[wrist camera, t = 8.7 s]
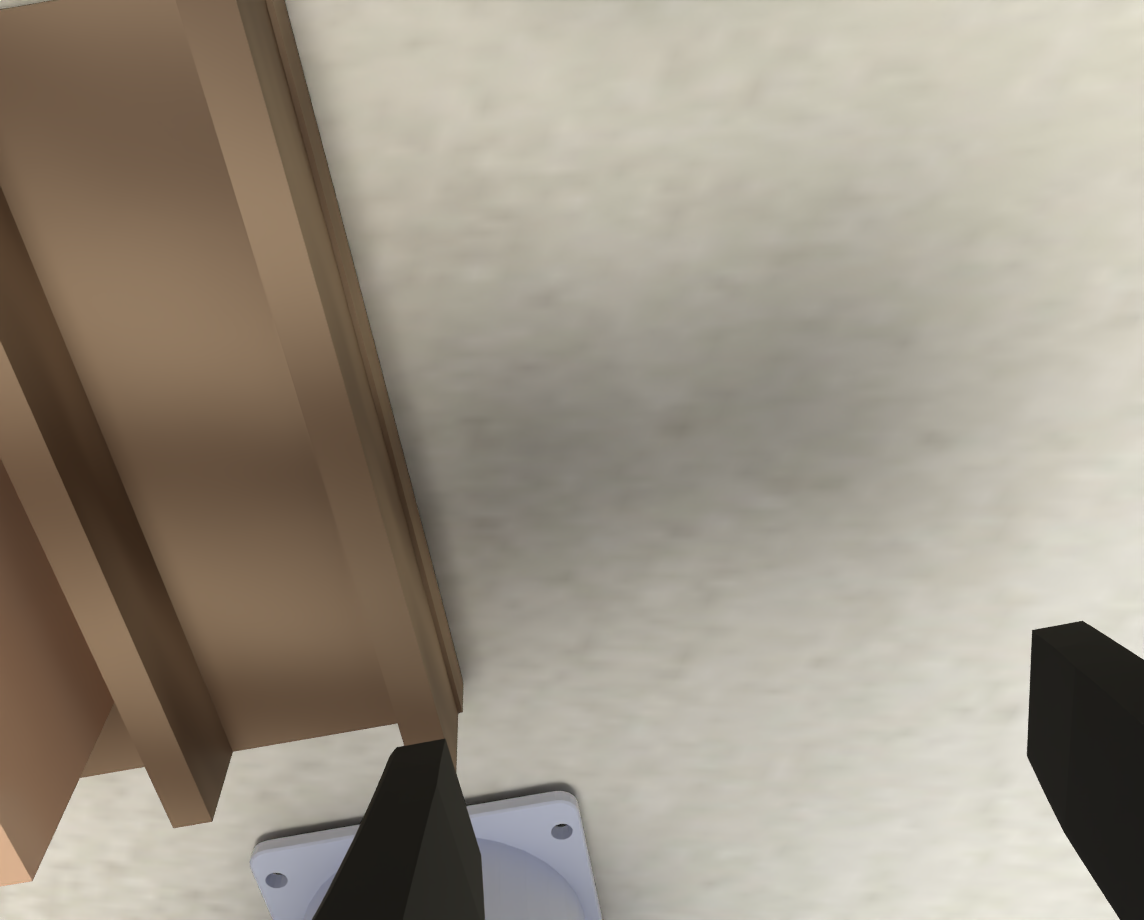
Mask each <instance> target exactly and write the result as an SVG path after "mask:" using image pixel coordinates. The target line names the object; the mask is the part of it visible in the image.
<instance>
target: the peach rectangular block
mask: <svg viewBox="0 0 1144 920" xmlns="http://www.w3.org/2000/svg"><path fill="white" fill-rule="evenodd" d="M113 704H114V700H113V698H112V696H111V694H110V691H109V689H108V687H107V685H106V683H105V681H104V679H103V676H102V674H101V672H100V670H99V668H98V666H97V664H96V661H95V659H94V657H93V655H92V653H91V651H90V649H89V646H88V644H87V642H86V640H85V638H84V636H83V634H82V632H81V629H80V627H79V625H78V623H77V621H76V619H75V617H74V614H73V612H72V610H71V608H70V606H69V604H68V602H67V599H66V597H65V595H64V593H63V591H62V589H61V587H60V584H59V582H58V580H57V578H56V576H55V574H54V572H53V569H52V567H51V565H50V563H49V561H48V559H47V557H46V554H45V552H44V550H43V548H42V546H41V544H40V542H39V540H38V537H37V535H36V533H35V531H34V529H33V527H32V525H31V522H30V520H29V518H28V516H27V514H26V512H25V510H24V507H23V505H22V503H21V501H20V499H19V497H18V495H17V492H16V490H15V488H14V486H13V484H12V482H11V480H10V477H9V475H8V473H7V471H6V469H5V467H4V465H3V462H2V460H1V458H0V886H6V885H12V884H18V883H24V882H30V881H33V879H34V877H35V874H36V872H37V870H38V868H39V866H40V864H41V861H42V859H43V857H44V855H45V853H46V850H47V848H48V846H49V844H50V842H51V839H52V837H53V835H54V833H55V831H56V829H57V826H58V824H59V822H60V820H61V818H62V815H63V813H64V811H65V809H66V807H67V805H68V802H69V800H70V798H71V796H72V794H73V791H74V789H75V787H76V785H77V783H78V781H79V778H80V776H81V774H82V772H83V770H84V767H85V765H86V763H87V761H88V759H89V756H90V754H91V752H92V750H93V748H94V746H95V743H96V741H97V739H98V737H99V735H100V732H101V730H102V728H103V726H104V724H105V722H106V719H107V717H108V715H109V713H110V711H111V708H112V706H113Z"/></svg>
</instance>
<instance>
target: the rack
mask: <svg viewBox="0 0 1144 920" xmlns="http://www.w3.org/2000/svg"><path fill="white" fill-rule="evenodd" d="M0 458H1V460H2V462H3V465H4V467H5V469H6V471H7V473H8V475H9V477H10V480H11V482H12V484H13V486H14V488H15V490H16V492H17V495H18V497H19V499H20V501H21V503H22V505H23V507H24V510H25V512H26V514H27V516H28V518H29V520H30V522H31V525H32V527H33V529H34V531H35V533H36V535H37V537H38V540H39V542H40V544H41V546H42V548H43V550H44V552H45V554H46V557H47V559H48V561H49V563H50V565H51V567H52V569H53V572H54V574H55V576H56V578H57V580H58V582H59V584H60V587H61V589H62V591H63V593H64V595H65V597H66V599H67V602H68V604H69V606H70V608H71V610H72V612H73V614H74V617H75V619H76V621H77V623H78V625H79V627H80V629H81V632H82V634H83V636H84V638H85V640H86V642H87V644H88V646H89V649H90V651H91V653H92V655H93V657H94V659H95V661H96V664H97V666H98V668H99V670H100V672H101V674H102V676H103V679H104V681H105V683H106V685H107V687H108V689H109V691H110V694H111V696H112V698H113V700H114V704H113V706H112V708H111V711H110V713H109V715H108V717H107V719H106V722H105V724H104V726H103V728H102V730H101V732H100V735H99V737H98V739H97V741H96V743H95V746H94V748H93V750H92V752H91V754H90V756H89V759H88V761H87V763H86V765H85V767H84V770H83V772H82V774H81V776H80V778H82V777H88V776H94V775H100V774H105V773H111V772H117V771H123V770H129V769H135V768H140V767H145V768H146V771H147V773H148V775H149V777H150V779H151V781H152V783H153V786H154V788H155V790H156V792H157V794H158V796H159V798H160V801H161V803H162V805H163V807H164V809H165V811H166V813H167V816H168V818H169V820H170V822H171V824H172V826H173V828H178V827H183V826H189V825H195V824H201V823H207V822H212V821H213V818H214V814H215V811H216V807H217V804H218V800H219V797H220V794H221V790H222V787H223V783H224V780H225V777H226V773H227V770H228V766H229V763H230V759H231V756H232V753H233V751H239V750H245V749H251V748H257V747H263V746H268V745H274V744H280V743H286V742H292V741H297V740H303V739H309V738H315V737H321V736H327V735H332V734H338V733H344V732H350V731H356V730H362V729H367V728H373V727H379V726H385V725H391V724H396V723H398V726H399V729H400V733H401V736H402V739H403V742H404V746H407V745H412V744H418V743H423V742H429V741H434V740H439V739H445V738H446V742H447V745H448V748H449V752H450V755H451V758H452V761H453V765H454V768H455V771H456V765H457V732H458V713H460V712H463V679H462V675H461V672H460V668H459V664H458V660H457V656H456V653H455V649H454V645H453V641H452V637H451V634H450V630H449V626H448V622H447V618H446V615H445V611H444V607H443V603H442V599H441V595H440V592H439V588H438V584H437V580H436V576H435V573H434V569H433V565H432V561H431V557H430V554H429V550H428V546H427V542H426V538H425V534H424V531H423V527H422V523H421V519H420V515H419V512H418V508H417V504H416V500H415V496H414V493H413V489H412V485H411V481H410V477H409V473H408V470H407V466H406V462H405V458H404V454H403V451H402V447H401V443H400V439H399V435H398V432H397V428H396V424H395V420H394V416H393V413H392V409H391V405H390V401H389V397H388V393H387V390H386V386H385V382H384V378H383V374H382V371H381V367H380V363H379V359H378V355H377V352H376V348H375V344H374V340H373V336H372V332H371V329H370V325H369V321H368V317H367V313H366V310H365V306H364V302H363V298H362V294H361V291H360V287H359V283H358V279H357V275H356V272H355V268H354V264H353V260H352V256H351V252H350V249H349V245H348V241H347V237H346V233H345V230H344V226H343V222H342V218H341V214H340V211H339V207H338V203H337V199H336V195H335V191H334V188H333V184H332V180H331V176H330V172H329V169H328V165H327V161H326V157H325V153H324V150H323V146H322V142H321V138H320V134H319V130H318V127H317V123H316V119H315V115H314V111H313V108H312V104H311V100H310V96H309V92H308V89H307V85H306V81H305V77H304V73H303V70H302V66H301V62H300V58H299V54H298V50H297V47H296V43H295V39H294V35H293V31H292V28H291V24H290V20H289V16H288V12H287V9H286V5H285V1H284V0H52V1H46V2H40V3H35V4H29V5H23V6H18V7H12V8H6V9H1V10H0Z"/></svg>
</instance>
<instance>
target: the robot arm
mask: <svg viewBox="0 0 1144 920" xmlns="http://www.w3.org/2000/svg"><path fill="white" fill-rule="evenodd" d="M1027 757H1028V759H1029V761H1030V763H1031V765H1032V767H1033V770H1034V772H1035V774H1036V776H1037V778H1038V780H1039V782H1040V784H1041V787H1042V789H1043V791H1044V793H1045V795H1046V797H1047V799H1048V801H1049V803H1050V805H1051V807H1052V809H1053V811H1054V813H1055V815H1056V817H1057V819H1058V821H1059V823H1060V825H1061V827H1062V829H1063V831H1064V833H1065V835H1066V836H1067V838H1068V839H1069V841H1070V843H1071V844H1072V846H1073V847H1074V849H1075V851H1076V852H1077V854H1078V855H1079V857H1080V858H1081V860H1082V861H1083V863H1084V865H1085V866H1086V868H1087V869H1088V871H1089V872H1090V874H1091V876H1092V877H1093V879H1094V880H1095V882H1096V883H1097V885H1098V886H1099V888H1100V890H1101V891H1102V893H1103V894H1104V896H1105V897H1106V899H1107V900H1108V902H1109V903H1110V905H1111V906H1112V908H1113V910H1114V911H1115V913H1116V914H1117V916H1118V917H1119V919H1120V920H1144V660H1143V659H1142V658H1140V657H1138V656H1137V655H1135V654H1134V653H1132V652H1131V651H1129V650H1128V649H1126V648H1125V647H1123V646H1121V645H1120V644H1118V643H1117V642H1115V641H1114V640H1112V639H1111V638H1109V637H1108V636H1106V635H1104V634H1103V633H1101V632H1100V631H1098V630H1096V629H1095V628H1093V627H1092V626H1090V625H1088V624H1087V623H1085V622H1083V621H1079V622H1074V623H1069V624H1063V625H1058V626H1052V627H1047V628H1041V629H1036V630H1032V647H1031V671H1030V695H1029V719H1028V743H1027ZM558 824H567V825H566V826H564V827H556V825H558ZM250 868H251V870H252V873H253V875H254V877H255V880H256V882H257V884H258V887H259V889H260V891H261V894H262V896H263V898H264V901H265V903H266V905H267V908H268V910H269V912H270V915H271V917H272V919H273V920H603V918H602V914H601V909H600V904H599V900H598V895H597V890H596V885H595V881H594V876H593V871H592V866H591V862H590V857H589V852H588V847H587V843H586V838H585V833H584V829H583V824H582V819H581V814H580V810H579V805H578V802H577V800H576V798H575V797H574V796H573V795H572V794H570V793H568V792H565V791H552V792H546V793H540V794H534V795H529V796H523V797H517V798H511V799H505V800H499V801H493V802H488V803H482V804H476V805H470V806H466V804H465V800H464V797H463V794H462V791H461V787H460V784H459V781H458V778H457V774H456V771H455V768H454V765H453V761H452V758H451V755H450V752H449V748H448V745H447V742H446V738H445V739H439V740H434V741H429V742H423V743H418V744H412V745H407V746H401V747H397V748H396V749H395V750H394V751H393V753H392V754H391V755H390V757H389V759H388V762H387V764H386V767H385V769H384V772H383V774H382V776H381V779H380V781H379V783H378V786H377V788H376V790H375V793H374V795H373V797H372V800H371V802H370V804H369V806H368V809H367V811H366V813H365V815H364V817H363V820H362V822H361V824H359V825H353V826H347V827H342V828H336V829H330V830H324V831H318V832H312V833H306V834H301V835H295V836H289V837H283V838H277V839H271V840H266V841H263V842H260V843H259V844H258V845H256V846H255V847H254V849H253V851H252V855H251V859H250ZM274 873H281V874H283V875H276V874H274Z"/></svg>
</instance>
